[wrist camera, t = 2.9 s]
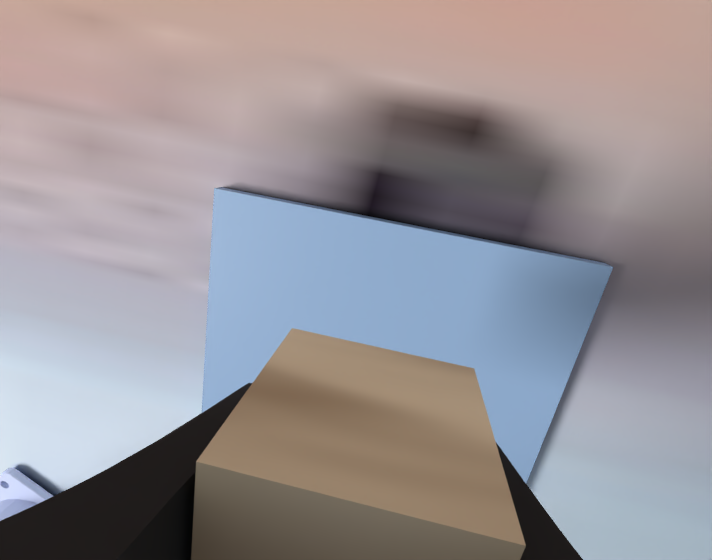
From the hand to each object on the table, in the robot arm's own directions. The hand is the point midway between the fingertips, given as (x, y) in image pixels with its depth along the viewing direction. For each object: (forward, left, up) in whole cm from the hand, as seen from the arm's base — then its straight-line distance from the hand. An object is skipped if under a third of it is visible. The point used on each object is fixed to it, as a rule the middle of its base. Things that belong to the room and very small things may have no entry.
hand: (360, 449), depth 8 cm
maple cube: (0, 0, -1) cm, 1 cm away
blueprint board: (-6, -4, -8) cm, 11 cm away
